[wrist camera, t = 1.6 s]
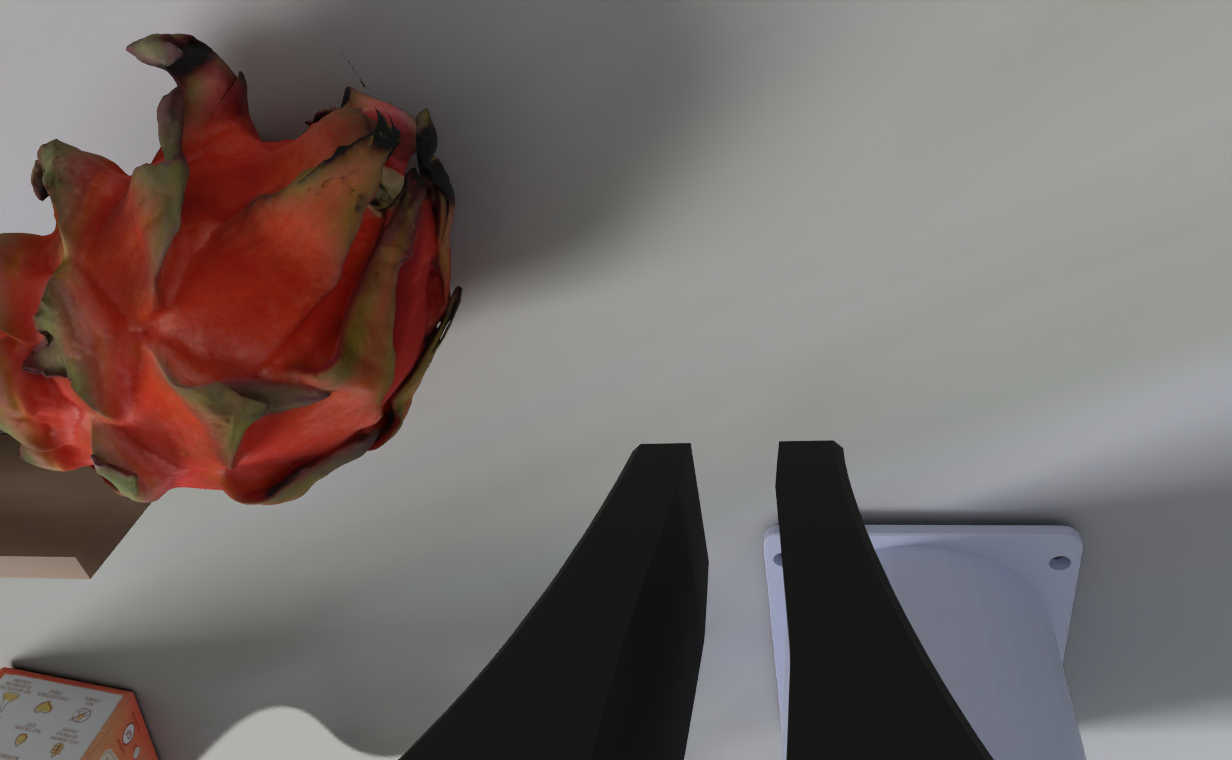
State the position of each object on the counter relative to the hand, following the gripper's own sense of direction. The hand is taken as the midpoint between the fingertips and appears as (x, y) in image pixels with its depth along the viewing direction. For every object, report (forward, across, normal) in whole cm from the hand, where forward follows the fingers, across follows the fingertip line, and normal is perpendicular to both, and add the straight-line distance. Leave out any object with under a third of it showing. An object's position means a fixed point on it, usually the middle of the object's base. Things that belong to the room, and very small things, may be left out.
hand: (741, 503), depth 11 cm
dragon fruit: (+11, +11, +1) cm, 15 cm away
